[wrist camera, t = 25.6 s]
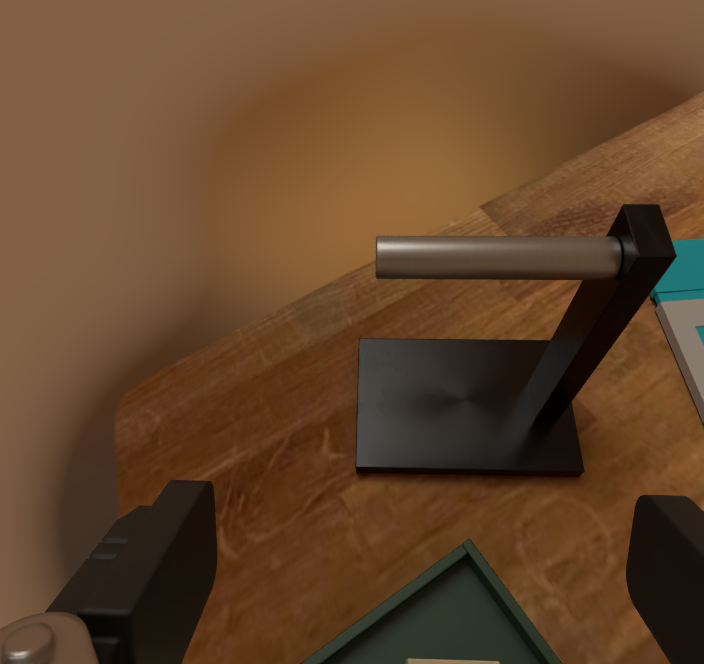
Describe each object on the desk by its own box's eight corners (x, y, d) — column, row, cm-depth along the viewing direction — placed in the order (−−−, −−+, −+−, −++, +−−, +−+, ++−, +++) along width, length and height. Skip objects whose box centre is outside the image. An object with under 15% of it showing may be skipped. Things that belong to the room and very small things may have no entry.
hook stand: (355, 472, 38) (344, 324, 22) (359, 345, 44) (352, 150, 28) (579, 477, 38) (734, 328, 22) (555, 348, 43) (666, 150, 27)
